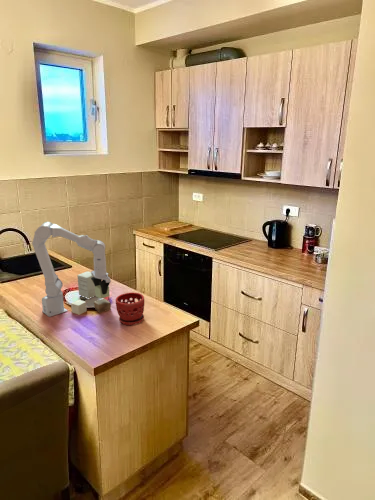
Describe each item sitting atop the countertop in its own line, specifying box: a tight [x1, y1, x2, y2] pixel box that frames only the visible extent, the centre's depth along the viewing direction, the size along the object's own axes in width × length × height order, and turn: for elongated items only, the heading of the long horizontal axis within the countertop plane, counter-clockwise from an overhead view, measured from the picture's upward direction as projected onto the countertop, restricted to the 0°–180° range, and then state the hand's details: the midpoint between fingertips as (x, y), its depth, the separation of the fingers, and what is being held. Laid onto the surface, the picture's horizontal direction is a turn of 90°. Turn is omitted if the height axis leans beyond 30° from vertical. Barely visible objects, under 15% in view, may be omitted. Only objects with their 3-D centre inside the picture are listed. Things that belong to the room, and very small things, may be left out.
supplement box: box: [76, 271, 96, 298], centre depth 195 cm, size 7×7×13 cm
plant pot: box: [115, 292, 145, 326], centre depth 168 cm, size 13×13×12 cm
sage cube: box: [95, 285, 111, 300], centre depth 179 cm, size 5×5×5 cm
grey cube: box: [70, 299, 88, 316], centre depth 178 cm, size 5×5×5 cm
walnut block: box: [93, 298, 111, 314], centre depth 181 cm, size 6×6×4 cm
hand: (101, 292), depth 179 cm, fingers closed on sage cube, 5 cm apart
